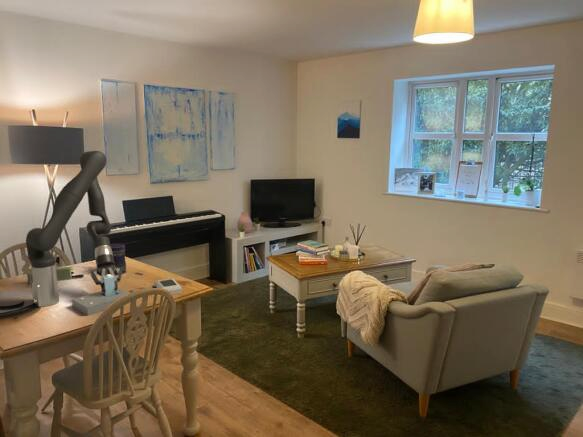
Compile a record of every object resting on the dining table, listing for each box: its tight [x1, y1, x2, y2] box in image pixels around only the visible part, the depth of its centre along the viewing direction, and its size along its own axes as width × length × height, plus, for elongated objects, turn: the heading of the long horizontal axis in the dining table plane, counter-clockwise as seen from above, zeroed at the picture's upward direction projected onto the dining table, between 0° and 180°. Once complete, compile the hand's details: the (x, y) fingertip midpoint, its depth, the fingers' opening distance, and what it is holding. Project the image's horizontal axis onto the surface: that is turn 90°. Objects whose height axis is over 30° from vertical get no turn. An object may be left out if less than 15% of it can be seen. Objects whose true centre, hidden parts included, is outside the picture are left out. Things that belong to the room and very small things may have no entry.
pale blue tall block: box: [103, 274, 115, 297], centre depth 198 cm, size 4×4×11 cm
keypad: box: [153, 278, 183, 295], centre depth 215 cm, size 10×4×15 cm
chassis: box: [71, 288, 129, 316], centre depth 195 cm, size 20×14×4 cm
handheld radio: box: [26, 265, 85, 285], centre depth 225 cm, size 7×3×25 cm
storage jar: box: [110, 242, 127, 276], centre depth 238 cm, size 10×10×15 cm
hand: (110, 290), depth 197 cm, fingers closed on pale blue tall block, 4 cm apart
